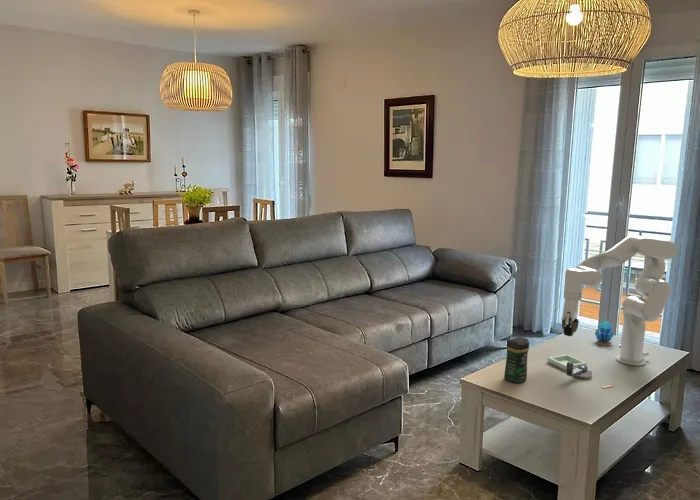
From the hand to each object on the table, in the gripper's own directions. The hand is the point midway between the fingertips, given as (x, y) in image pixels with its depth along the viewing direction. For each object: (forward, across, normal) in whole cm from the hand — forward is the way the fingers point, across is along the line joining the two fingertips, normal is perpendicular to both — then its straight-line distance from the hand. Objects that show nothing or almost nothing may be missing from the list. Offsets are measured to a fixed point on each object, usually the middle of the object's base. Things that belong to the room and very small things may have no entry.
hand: (569, 332), depth 250 cm
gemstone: (+16, -44, +9) cm, 48 cm away
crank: (+13, +14, +7) cm, 20 cm away
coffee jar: (+16, +31, -14) cm, 38 cm away
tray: (+16, 0, 0) cm, 16 cm away
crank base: (+16, +9, +8) cm, 20 cm away
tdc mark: (+16, +16, +20) cm, 30 cm away
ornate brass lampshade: (+1, 0, 0) cm, 1 cm away
